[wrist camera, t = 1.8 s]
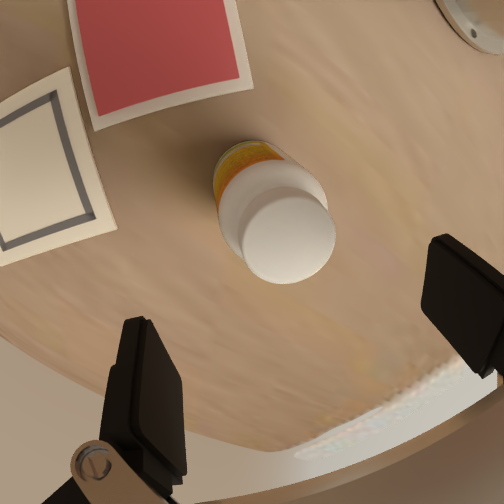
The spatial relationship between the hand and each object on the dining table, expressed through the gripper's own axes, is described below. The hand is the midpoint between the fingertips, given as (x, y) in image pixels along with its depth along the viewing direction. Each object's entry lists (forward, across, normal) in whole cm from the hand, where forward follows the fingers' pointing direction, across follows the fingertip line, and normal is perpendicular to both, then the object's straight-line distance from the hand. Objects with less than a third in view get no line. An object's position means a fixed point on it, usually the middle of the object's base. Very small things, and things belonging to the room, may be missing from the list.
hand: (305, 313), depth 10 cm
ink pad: (+13, +3, -12) cm, 18 cm away
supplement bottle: (+14, -1, -1) cm, 14 cm away
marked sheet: (+14, +15, -6) cm, 21 cm away
